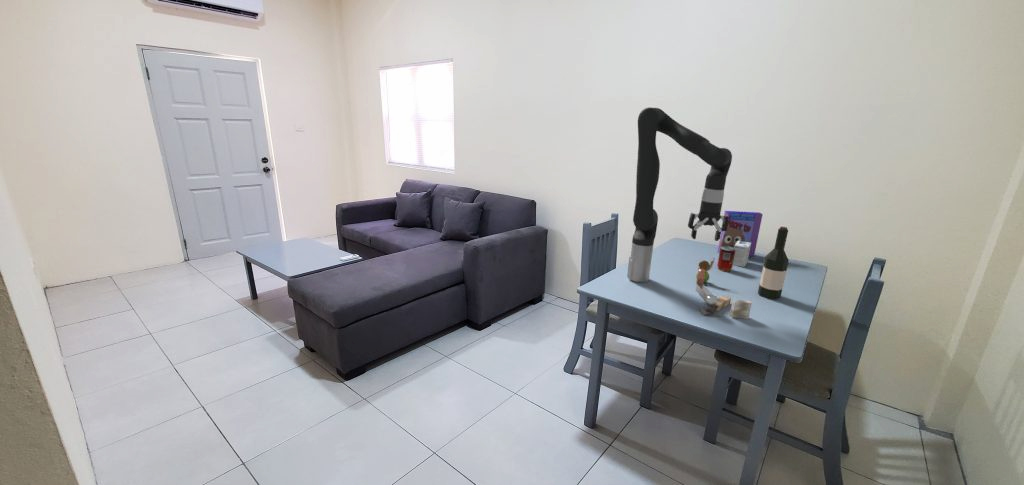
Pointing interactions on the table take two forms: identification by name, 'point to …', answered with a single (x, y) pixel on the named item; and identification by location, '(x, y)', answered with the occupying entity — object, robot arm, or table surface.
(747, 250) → the light bulb box
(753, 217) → the cereal box
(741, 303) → the base
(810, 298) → the table surface
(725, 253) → the soda can
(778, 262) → the wine bottle
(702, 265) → the snail figurine
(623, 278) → the table surface
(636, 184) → the robot arm
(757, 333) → the table surface
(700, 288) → the bar
